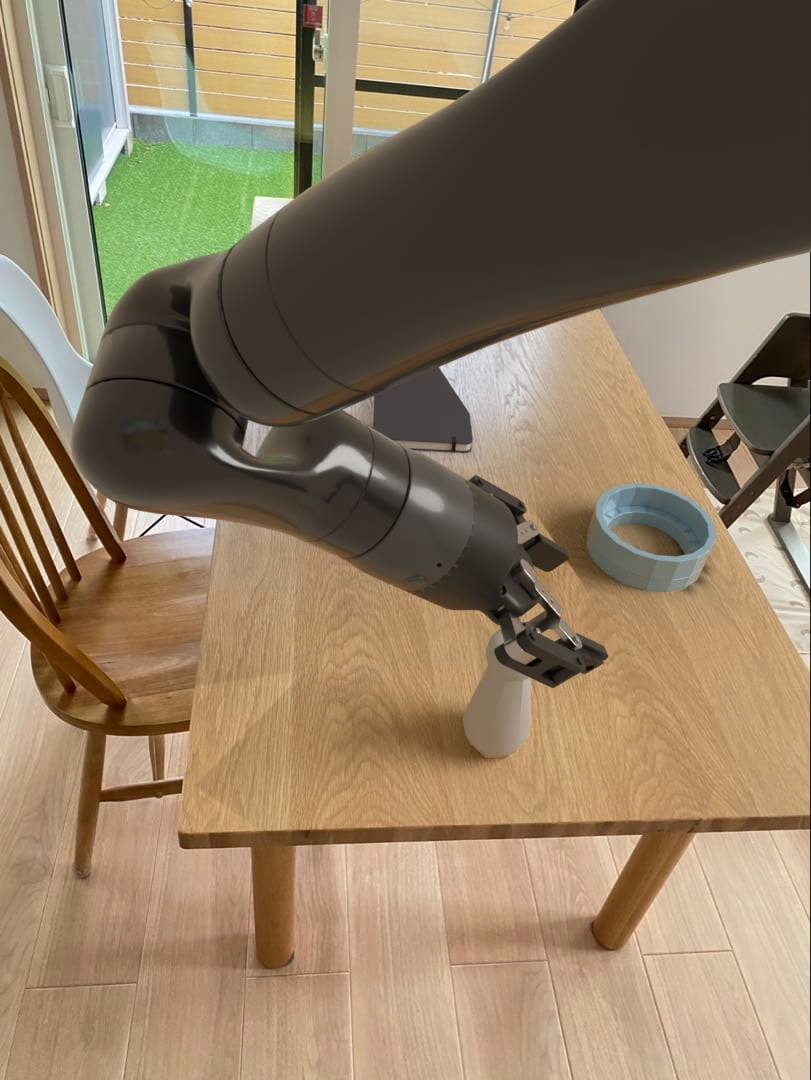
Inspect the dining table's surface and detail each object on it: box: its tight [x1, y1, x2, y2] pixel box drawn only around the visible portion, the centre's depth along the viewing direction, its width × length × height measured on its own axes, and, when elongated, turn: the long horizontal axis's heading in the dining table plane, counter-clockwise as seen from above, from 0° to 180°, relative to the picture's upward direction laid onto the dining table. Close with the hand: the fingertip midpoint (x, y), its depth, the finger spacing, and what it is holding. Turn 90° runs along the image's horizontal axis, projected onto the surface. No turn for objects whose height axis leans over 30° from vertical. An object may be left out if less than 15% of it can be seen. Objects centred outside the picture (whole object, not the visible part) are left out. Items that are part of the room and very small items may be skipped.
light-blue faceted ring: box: [585, 482, 717, 593], centre depth 85 cm, size 13×13×6 cm
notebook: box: [372, 367, 474, 454], centre depth 107 cm, size 13×2×21 cm
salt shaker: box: [462, 628, 532, 759], centre depth 64 cm, size 6×6×13 cm
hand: (576, 608), depth 56 cm, fingers open, 8 cm apart
